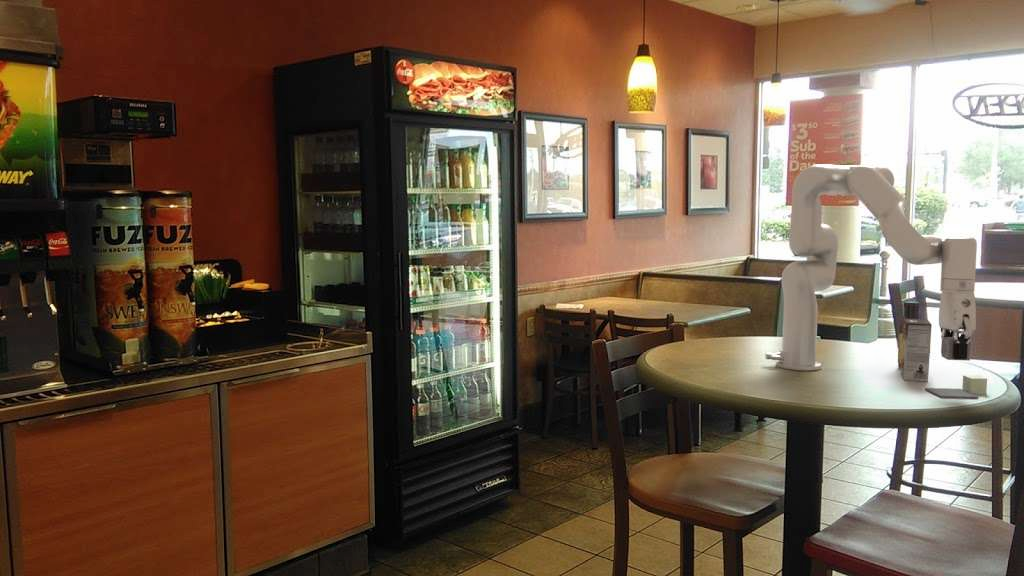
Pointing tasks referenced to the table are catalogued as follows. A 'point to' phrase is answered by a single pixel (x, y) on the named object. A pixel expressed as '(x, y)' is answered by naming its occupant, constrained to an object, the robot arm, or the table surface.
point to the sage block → (974, 384)
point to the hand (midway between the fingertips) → (953, 356)
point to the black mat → (951, 393)
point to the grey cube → (948, 348)
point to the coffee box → (916, 349)
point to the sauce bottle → (909, 313)
